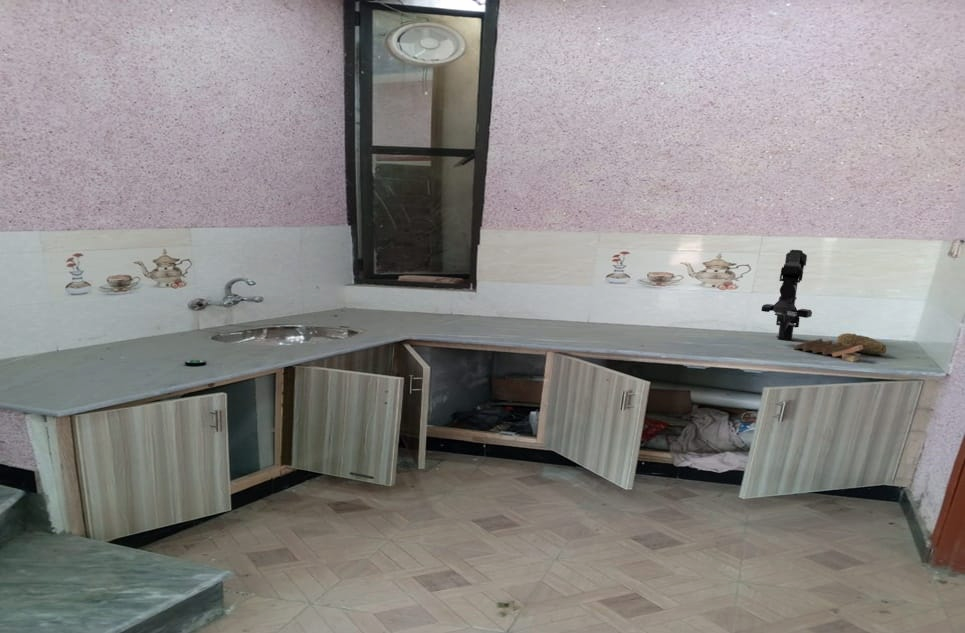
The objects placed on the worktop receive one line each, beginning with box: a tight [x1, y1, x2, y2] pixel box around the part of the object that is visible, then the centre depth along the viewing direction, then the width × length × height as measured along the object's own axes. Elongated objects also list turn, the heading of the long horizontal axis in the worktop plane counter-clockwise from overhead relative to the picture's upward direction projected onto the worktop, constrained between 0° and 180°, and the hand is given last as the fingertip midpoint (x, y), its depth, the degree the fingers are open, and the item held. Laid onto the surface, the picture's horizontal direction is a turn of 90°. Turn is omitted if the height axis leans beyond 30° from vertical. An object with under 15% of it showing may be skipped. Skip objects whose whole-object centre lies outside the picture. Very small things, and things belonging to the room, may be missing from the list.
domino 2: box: [801, 340, 834, 352], centre depth 243 cm, size 2×5×10 cm
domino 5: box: [831, 345, 864, 358], centre depth 235 cm, size 2×5×10 cm
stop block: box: [841, 352, 861, 363], centre depth 235 cm, size 4×8×2 cm, turn 131°
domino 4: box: [821, 343, 853, 356], centre depth 238 cm, size 2×5×10 cm
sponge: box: [837, 333, 887, 355], centre depth 248 cm, size 13×8×20 cm
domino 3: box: [811, 342, 843, 354], centre depth 241 cm, size 2×5×10 cm
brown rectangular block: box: [793, 338, 824, 350], centre depth 246 cm, size 2×5×10 cm
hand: (783, 330), depth 252 cm, fingers closed
